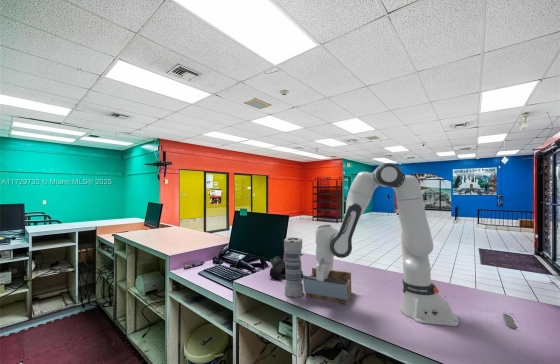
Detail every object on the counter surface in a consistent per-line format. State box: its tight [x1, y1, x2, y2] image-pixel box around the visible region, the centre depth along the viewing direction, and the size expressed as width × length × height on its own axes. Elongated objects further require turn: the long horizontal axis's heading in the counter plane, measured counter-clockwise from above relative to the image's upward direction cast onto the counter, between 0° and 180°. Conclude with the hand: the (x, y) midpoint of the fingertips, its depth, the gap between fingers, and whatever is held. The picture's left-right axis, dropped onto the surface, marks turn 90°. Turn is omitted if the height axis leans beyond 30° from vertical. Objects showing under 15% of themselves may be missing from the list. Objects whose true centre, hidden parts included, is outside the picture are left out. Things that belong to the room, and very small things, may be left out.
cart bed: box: [305, 267, 352, 305], centre depth 132 cm, size 22×14×11 cm, turn 66°
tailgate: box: [302, 275, 347, 300], centre depth 124 cm, size 22×2×9 cm, turn 66°
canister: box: [283, 236, 304, 298], centre depth 134 cm, size 10×10×30 cm
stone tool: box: [503, 313, 518, 330], centre depth 104 cm, size 14×1×5 cm
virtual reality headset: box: [269, 255, 304, 281], centre depth 160 cm, size 19×22×10 cm
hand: (325, 283), depth 125 cm, fingers closed
